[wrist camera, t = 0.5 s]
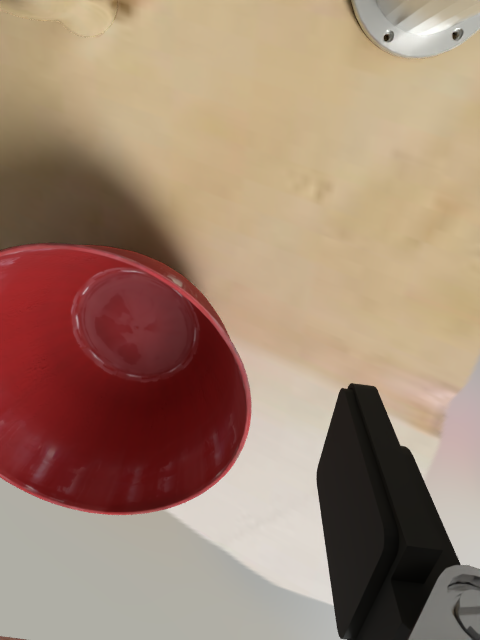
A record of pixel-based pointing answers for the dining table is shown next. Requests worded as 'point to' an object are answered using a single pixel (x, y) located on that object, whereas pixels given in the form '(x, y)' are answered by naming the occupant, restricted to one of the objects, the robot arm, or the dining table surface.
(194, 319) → the mixing bowl
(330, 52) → the dining table surface
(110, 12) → the silver metal tumbler
